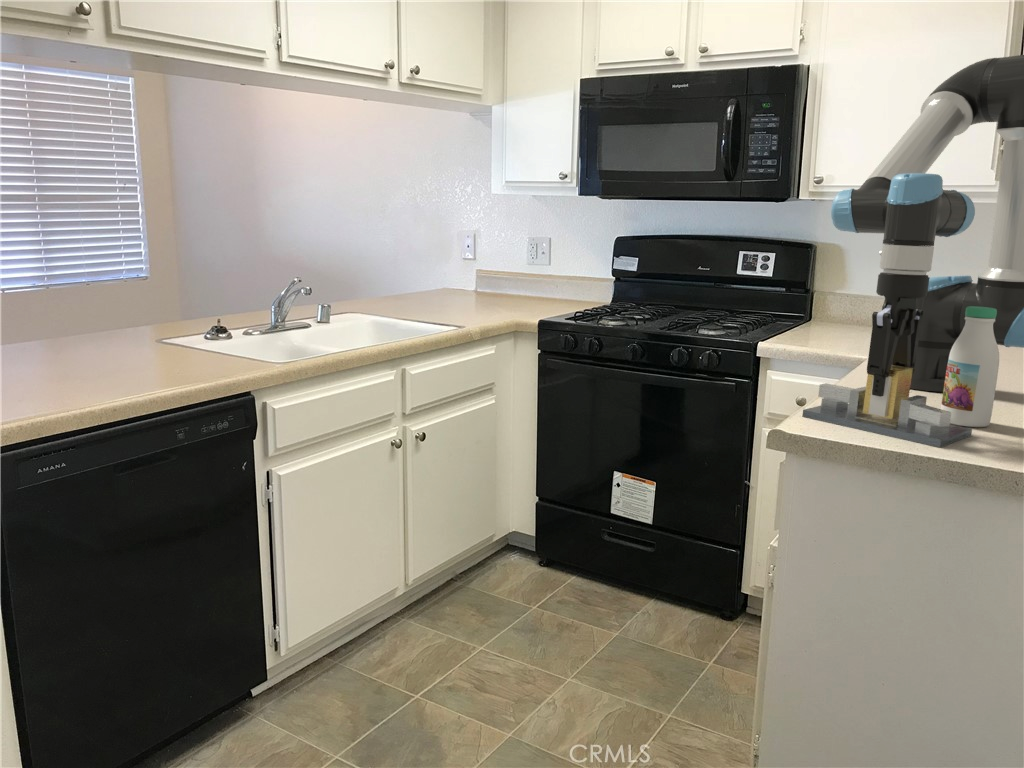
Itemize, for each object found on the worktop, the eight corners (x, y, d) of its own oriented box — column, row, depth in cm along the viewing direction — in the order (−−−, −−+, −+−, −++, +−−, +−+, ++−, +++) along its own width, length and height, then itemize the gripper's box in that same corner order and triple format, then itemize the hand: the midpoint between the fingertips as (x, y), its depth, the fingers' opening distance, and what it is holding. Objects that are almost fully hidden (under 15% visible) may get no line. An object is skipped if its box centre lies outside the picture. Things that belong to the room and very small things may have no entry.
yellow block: (906, 415, 137) (913, 367, 136) (892, 419, 134) (899, 369, 132) (876, 409, 141) (883, 362, 139) (862, 412, 138) (869, 364, 136)
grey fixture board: (836, 407, 150) (840, 377, 149) (971, 436, 133) (976, 402, 132) (801, 416, 143) (805, 384, 141) (939, 447, 126) (945, 411, 124)
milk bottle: (973, 417, 146) (990, 305, 142) (999, 429, 139) (1018, 310, 135) (930, 416, 146) (946, 304, 142) (954, 427, 138) (972, 309, 134)
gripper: (905, 269, 141) (888, 402, 146) (854, 271, 130) (837, 415, 134) (951, 273, 136) (931, 410, 140) (902, 275, 124) (882, 424, 129)
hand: (885, 412), depth 137 cm, fingers closed on yellow block, 5 cm apart
